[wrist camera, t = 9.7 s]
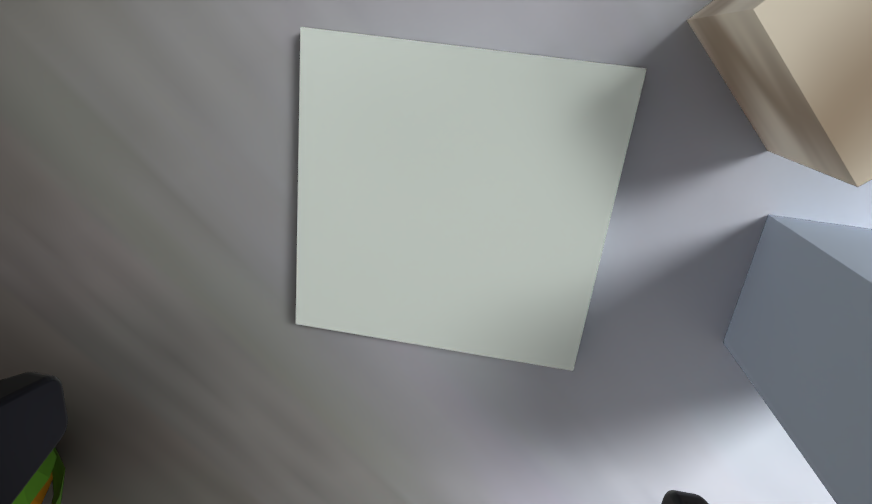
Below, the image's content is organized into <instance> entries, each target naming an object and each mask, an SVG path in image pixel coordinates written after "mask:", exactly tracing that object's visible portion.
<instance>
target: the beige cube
mask: <svg viewBox="0 0 872 504" xmlns="http://www.w3.org/2000/svg"><path fill="white" fill-rule="evenodd" d="M687 22H688V23H689V25H690V26H691V28H692V30H693V31H694V33H695V35H696V36H697V38H698V39H699V41H700V43H701V44H702V46H703V47H704V49H705V51H706V52H707V54H708V55H709V57H710V59H711V60H712V62H713V64H714V65H715V67H716V68H717V70H718V72H719V73H720V75H721V76H722V78H723V80H724V81H725V83H726V85H727V86H728V88H729V89H730V91H731V93H732V94H733V96H734V97H735V99H736V101H737V102H738V104H739V105H740V107H741V109H742V110H743V112H744V114H745V115H746V117H747V118H748V120H749V122H750V123H751V125H752V126H753V128H754V130H755V131H756V133H757V135H758V136H759V138H760V139H761V141H762V143H763V144H764V146H765V147H766V149H767V151H769V152H772V153H774V154H777V155H779V156H782V157H784V158H787V159H789V160H792V161H794V162H796V163H799V164H801V165H804V166H806V167H809V168H811V169H814V170H816V171H819V172H821V173H824V174H826V175H829V176H831V177H834V178H836V179H839V180H841V181H844V182H846V183H849V184H851V185H854V186H856V187H859V186H861V185H863V184H865V183H866V182H868V181H870V180H872V0H713V1H712V2H711V3H709V4H708V5H707V6H705V7H704V8H702V9H701V10H700V11H698V12H697V13H696V14H694V15H693V16H692V17H690V18H689V19H688V20H687Z"/></svg>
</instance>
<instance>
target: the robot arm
mask: <svg viewBox="0 0 872 504" xmlns="http://www.w3.org/2000/svg"><path fill="white" fill-rule="evenodd" d="M67 424H68V417H67V411H66V405H65V399H64V393H63V388H62V383H61V381H60V380H59V379H58V378H57V377H55V376H53V375H47V374H42V373H36V372H27V373H23V374H20V375H16V376H13V377H10V378H7V379H3V380H0V504H12V503H13V502H14V500H15V499H16V498H17V496H18V495H19V494H20V493H21V491H22V490H23V489H24V487H25V486H26V485H27V483H28V482H29V481H30V479H31V478H32V477H33V475H34V474H35V473H36V471H37V470H38V469H39V467H40V466H41V465H42V463H43V462H44V461H45V459H46V458H47V457H48V455H49V454H50V453H51V452H52V450H53V449H54V448H55V446H56V445H57V444H58V442H59V441H60V440H61V438H62V437H63V435H64V433H65V431H66V428H67ZM662 504H708V503H707V502H706V501H705V500H704V499H703V498H702V497H701V496H699V495H696V494H692V493H687V492H681V491H676V490H671V491H668V492H667V493H666V494H665V496H664V498H663V501H662Z"/></svg>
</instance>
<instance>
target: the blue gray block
mask: <svg viewBox="0 0 872 504" xmlns="http://www.w3.org/2000/svg"><path fill="white" fill-rule="evenodd" d="M723 343H724V345H725V346H726V347H727V349H728V350H729V352H730V353H731V355H732V356H733V357H734V359H735V360H736V362H737V363H738V364H739V366H740V367H741V369H742V370H743V372H744V373H745V374H746V376H747V377H748V379H749V380H750V381H751V383H752V384H753V386H754V387H755V389H756V390H757V391H758V393H759V394H760V396H761V397H762V398H763V400H764V401H765V403H766V404H767V406H768V407H769V408H770V410H771V411H772V413H773V414H774V415H775V417H776V418H777V420H778V421H779V423H780V424H781V425H782V427H783V428H784V430H785V431H786V433H787V434H788V435H789V437H790V438H791V440H792V441H793V442H794V444H795V445H796V447H797V448H798V450H799V451H800V452H801V454H802V455H803V457H804V458H805V459H806V461H807V462H808V464H809V465H810V467H811V468H812V469H813V471H814V472H815V474H816V475H817V476H818V478H819V479H820V481H821V482H822V484H823V485H824V486H825V488H826V489H827V491H828V492H829V493H830V495H831V496H832V498H833V499H834V501H835V502H836V503H837V504H872V229H868V228H860V227H853V226H846V225H839V224H832V223H824V222H817V221H810V220H803V219H796V218H788V217H781V216H774V215H768V217H767V220H766V223H765V226H764V228H763V231H762V234H761V237H760V240H759V243H758V245H757V248H756V251H755V254H754V257H753V259H752V262H751V265H750V268H749V271H748V274H747V276H746V279H745V282H744V285H743V288H742V290H741V293H740V296H739V299H738V302H737V305H736V307H735V310H734V313H733V316H732V319H731V322H730V324H729V327H728V330H727V333H726V336H725V338H724V341H723Z"/></svg>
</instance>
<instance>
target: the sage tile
mask: <svg viewBox="0 0 872 504" xmlns="http://www.w3.org/2000/svg"><path fill="white" fill-rule="evenodd" d="M646 70H647V69H646V68H639V67H630V66H622V65H614V64H605V63H597V62H589V61H581V60H572V59H564V58H556V57H547V56H539V55H531V54H523V53H514V52H506V51H498V50H489V49H481V48H473V47H465V46H456V45H448V44H440V43H431V42H423V41H415V40H407V39H398V38H390V37H382V36H373V35H365V34H357V33H348V32H340V31H332V30H324V29H315V28H307V27H301V31H300V92H299V153H298V214H297V276H296V324H299V325H305V326H311V327H317V328H323V329H329V330H334V331H340V332H346V333H352V334H358V335H364V336H370V337H375V338H381V339H387V340H393V341H399V342H405V343H411V344H417V345H422V346H428V347H434V348H440V349H446V350H452V351H458V352H464V353H469V354H475V355H481V356H487V357H493V358H499V359H505V360H511V361H516V362H522V363H528V364H534V365H540V366H546V367H552V368H557V369H563V370H569V371H573V370H574V366H575V361H576V357H577V353H578V349H579V345H580V341H581V337H582V333H583V329H584V325H585V320H586V316H587V312H588V308H589V304H590V300H591V296H592V292H593V288H594V283H595V279H596V275H597V271H598V267H599V263H600V259H601V255H602V251H603V246H604V242H605V238H606V234H607V230H608V226H609V222H610V218H611V214H612V210H613V205H614V201H615V197H616V193H617V189H618V185H619V181H620V177H621V173H622V168H623V164H624V160H625V156H626V152H627V148H628V144H629V140H630V136H631V131H632V127H633V123H634V119H635V115H636V111H637V107H638V103H639V99H640V94H641V90H642V86H643V82H644V78H645V74H646Z"/></svg>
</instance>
